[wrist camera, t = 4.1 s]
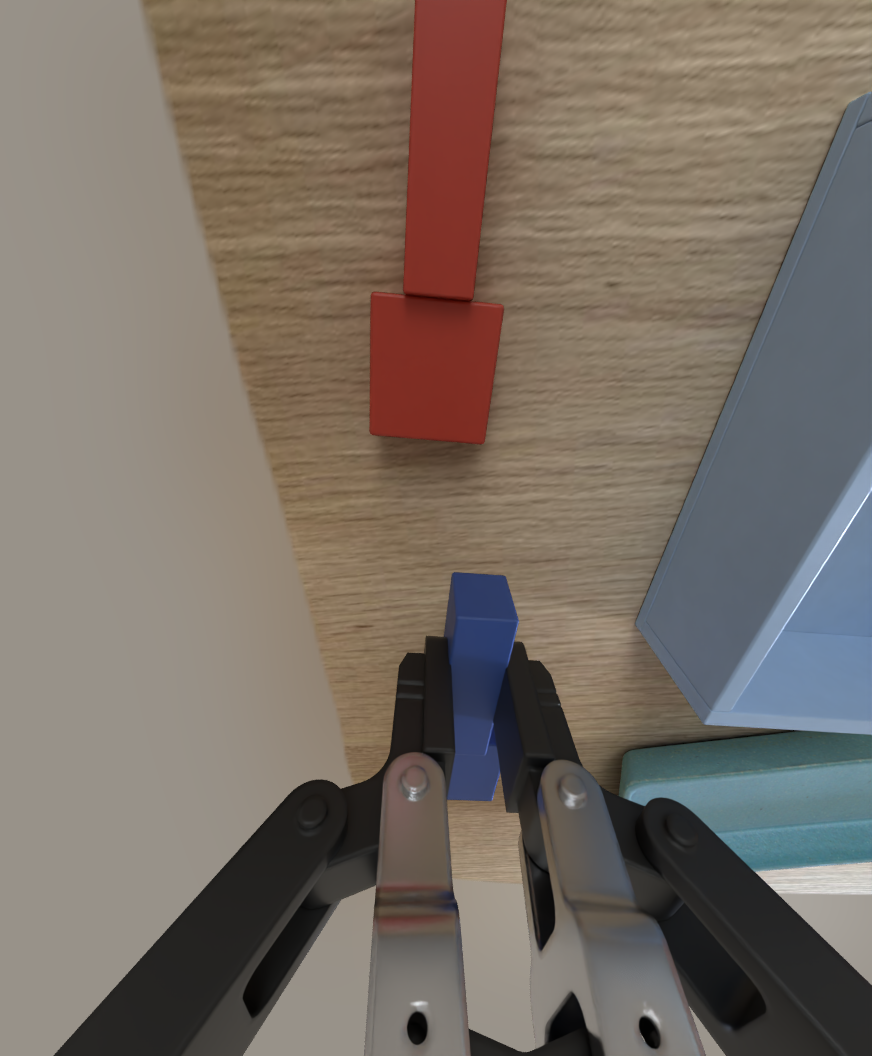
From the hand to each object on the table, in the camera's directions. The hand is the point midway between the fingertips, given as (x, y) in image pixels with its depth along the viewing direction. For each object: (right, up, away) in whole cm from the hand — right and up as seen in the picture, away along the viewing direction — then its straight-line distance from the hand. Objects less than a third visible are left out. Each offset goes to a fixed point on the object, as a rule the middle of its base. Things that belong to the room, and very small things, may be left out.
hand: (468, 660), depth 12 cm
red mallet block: (-1, +11, -2) cm, 11 cm away
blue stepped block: (0, -1, +1) cm, 2 cm away
